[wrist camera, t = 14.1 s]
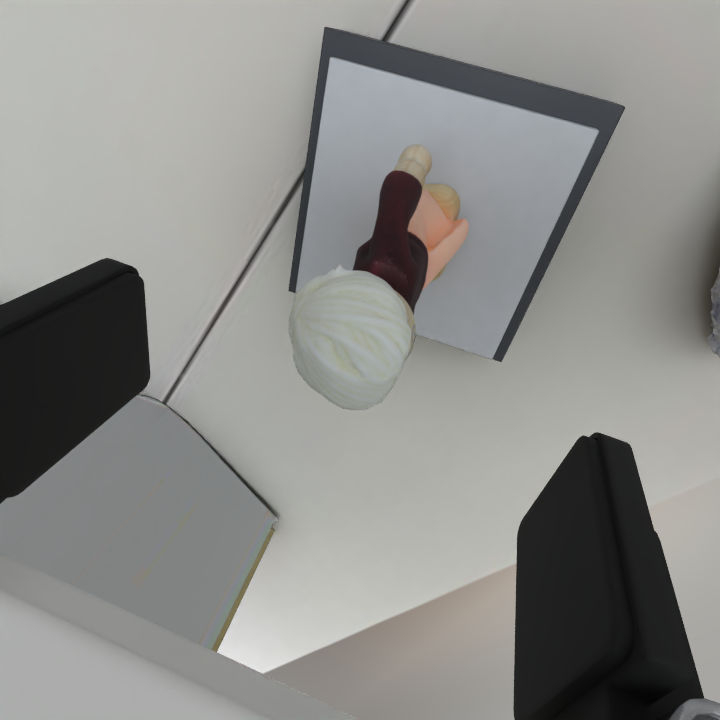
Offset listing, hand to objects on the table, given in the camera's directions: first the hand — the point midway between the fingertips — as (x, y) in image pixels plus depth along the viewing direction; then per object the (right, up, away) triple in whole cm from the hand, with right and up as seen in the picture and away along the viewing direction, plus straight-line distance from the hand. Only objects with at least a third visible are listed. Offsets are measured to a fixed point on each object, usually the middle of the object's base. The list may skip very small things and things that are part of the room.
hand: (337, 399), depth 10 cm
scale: (+4, +9, +14) cm, 17 cm away
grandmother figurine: (+4, +7, +11) cm, 14 cm away
